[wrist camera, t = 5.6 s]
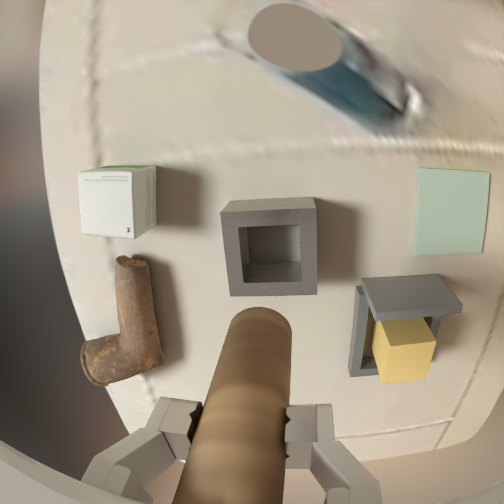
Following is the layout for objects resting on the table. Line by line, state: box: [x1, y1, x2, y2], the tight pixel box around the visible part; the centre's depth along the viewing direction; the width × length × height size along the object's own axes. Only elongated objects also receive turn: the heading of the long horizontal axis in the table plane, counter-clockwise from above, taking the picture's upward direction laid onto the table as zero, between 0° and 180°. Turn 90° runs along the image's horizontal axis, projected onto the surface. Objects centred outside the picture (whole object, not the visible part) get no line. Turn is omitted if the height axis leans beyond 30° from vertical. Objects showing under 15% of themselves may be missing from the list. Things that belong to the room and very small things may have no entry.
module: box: [371, 317, 437, 384], centre depth 27 cm, size 4×4×6 cm
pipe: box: [80, 255, 165, 387], centre depth 31 cm, size 6×17×10 cm
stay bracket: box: [220, 197, 317, 296], centre depth 26 cm, size 7×7×4 cm
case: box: [348, 274, 463, 377], centre depth 26 cm, size 11×9×6 cm
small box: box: [79, 166, 157, 239], centre depth 25 cm, size 6×6×5 cm
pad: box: [413, 168, 490, 256], centre depth 24 cm, size 8×8×1 cm
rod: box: [172, 307, 292, 504], centre depth 10 cm, size 3×3×10 cm
